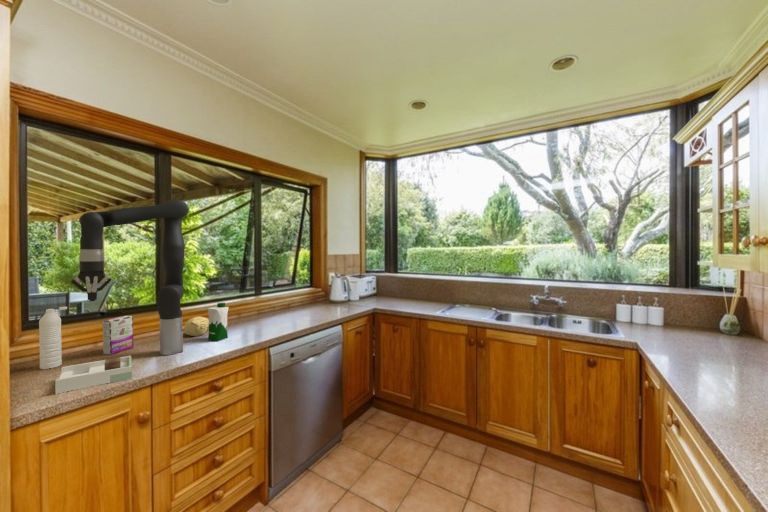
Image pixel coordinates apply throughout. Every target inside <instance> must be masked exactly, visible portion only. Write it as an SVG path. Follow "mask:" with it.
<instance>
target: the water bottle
mask: <svg viewBox="0 0 768 512" xmlns="http://www.w3.org/2000/svg"><path fill="white" fill-rule="evenodd" d="M67 309H68V306H59V307H58V310H59V311H61V310H63V311H64V310H67ZM38 326H39V330H38V332H39V333H38V334H39V341H38V343H39V369H40V370H48V369H49V368H51V369H54V367H55V368H59V367H60V365H61V366H63V359H62V358H63V354H62V344H63V343H62V318H61V317H60V316H59V314H57V313H56V312H55V309H54V308H48V309H47V308H46V309H45V313H44V314H43V316H42V317H41V318H39V322H38ZM58 366H59V367H58Z"/></svg>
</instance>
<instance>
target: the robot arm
mask: <svg viewBox="0 0 768 512" xmlns="http://www.w3.org/2000/svg"><path fill="white" fill-rule="evenodd" d="M189 210H190V208H189V205H188V204H187V203H186V202H185V201H184V200H182V199H170V200H168V201H166V202H162V203H158V204H154V205H153V204H152V205H146V206H145V205H144V206H143V205H142V206H131V207H122V208H115V209H110V210H106V211H96V212H94V211H88V212H84V213H83V214H81V215H80V217H79V220H78V221H79V224H80V232H81V235H80V239H79V254H78V255H79V257H78V261H79V264H78V266H79V268H78V269H79V273H78V275H77V277H76V278H74V279H72V280H71V281H70V283H72V284H73V285H74V286H75V287H76V288H77V289H79V290H80V291H81V292H83V293H84V292H85V293H87V300H88V301H89V302H95V301H96V300H97V299H98V292H100V291H102V290H104V289H105V288H106V287H107V286H108V285H109V284H110V283H111V282H112V277H108V276H106V273H105V256H104V242H103V241H104V240H103V234H104V228H107V227H111V226H123V225H130V224H136V223H141V222H145V221H151V220H157V219H163V227H164V228H163V236H162V246H161V248H162V249H161V259H162V265H163V269H164V273H165V275H164V276H165V278H164V279H165V280H164V286H163V287H162V288H160V289H159V291H158V293H157V313H158V315H159V316H158V317H159V354H160V355H163V356H168V355H175V354H178V353H183V351H184V332H183V310H182V309H181V300H182V299H183V297H184V283H183V282H184V281H183V279H184V278H183V272H184V263H185V251H186V250H185V249H186V248H185V239H184V235H183V231H182V226H183V225H182V224H183V218H184V217H186V216H187V215H188V213H189ZM102 281H103V283H102V284H101V285H100V287H98V284H100V283H101V282H102ZM80 282H82V283H83V284H85V285H86V287H85V286H83V285H82V284H81V283H80ZM92 286H93V288H92Z"/></svg>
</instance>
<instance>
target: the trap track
mask: <svg viewBox="0 0 768 512" xmlns="http://www.w3.org/2000/svg"><path fill="white" fill-rule="evenodd" d="M119 358H120V368H117V369H111V370H106V371H105V360H106V359H103V360H97V361H91V362H85V363H84V362H83V363H79V364H72V365H67V366H61V373H60V376H58V378H57V379H55V388H54V389H55V395H59V394H58V393H60V394H63V393H62V392H64V393H68V392H67V391H69V392H72V391H71V390H74V391H78V390H77V389H79V390H83V389H82V388H84V389H87V388H86V387H89V388H92V387H91V386H94V387H97V386H96V385H99V384H104V383H109V384H111V383H110V382H114V383H116V382H115V381H119V382H122V381H121V380H124V381H128V380H127V379H129V380H131V379H130V378H132V379H133V362H132V361H133V360H132V355H127V356H120V357H119ZM104 385H105V384H104ZM99 386H100V385H99Z"/></svg>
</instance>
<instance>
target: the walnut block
mask: <svg viewBox="0 0 768 512" xmlns="http://www.w3.org/2000/svg"><path fill="white" fill-rule="evenodd" d="M104 360H105V371H106V370H111V369H117V368H120V357H114V358H108V359H104Z"/></svg>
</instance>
